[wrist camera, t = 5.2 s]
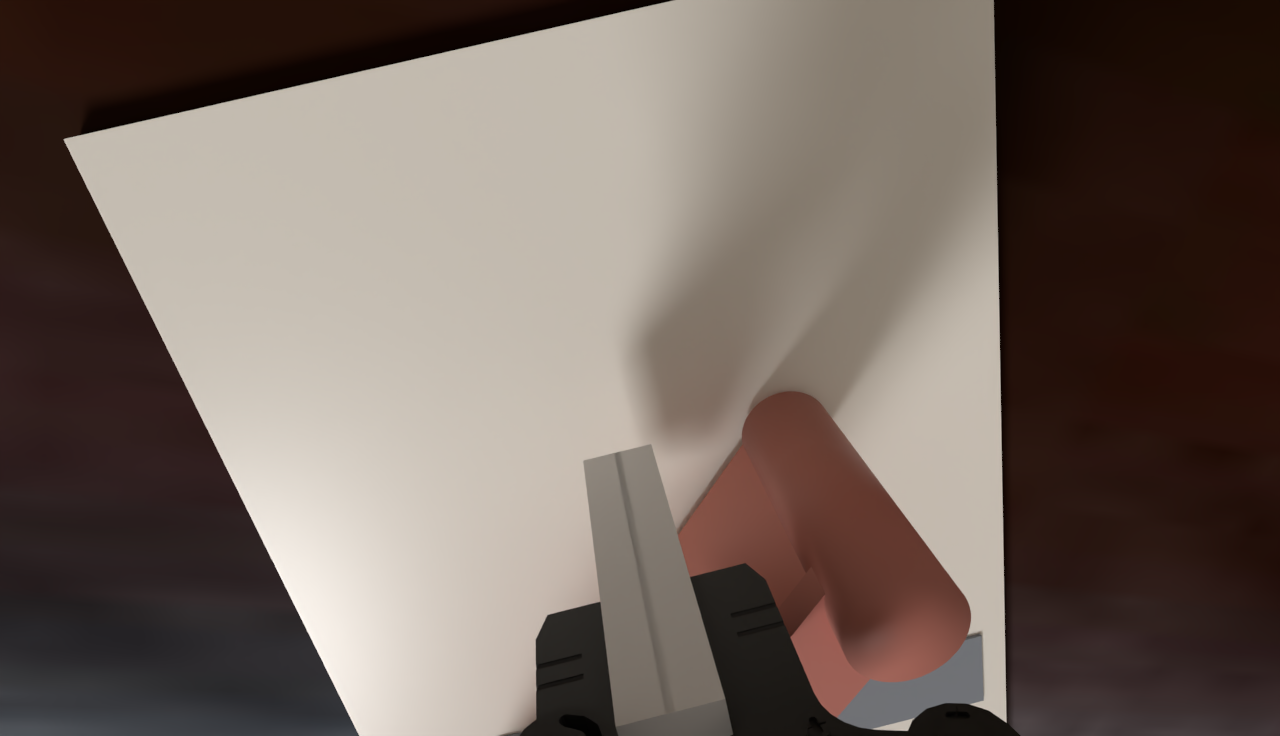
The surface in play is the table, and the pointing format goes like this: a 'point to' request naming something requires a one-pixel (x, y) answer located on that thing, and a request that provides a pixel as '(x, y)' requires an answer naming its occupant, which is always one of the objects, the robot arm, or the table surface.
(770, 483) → the red wall panel
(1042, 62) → the table surface
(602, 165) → the card
